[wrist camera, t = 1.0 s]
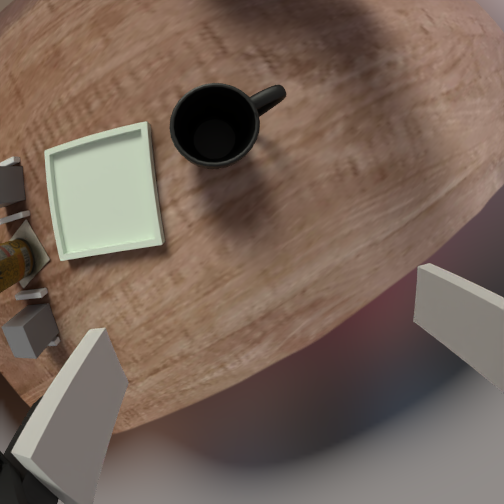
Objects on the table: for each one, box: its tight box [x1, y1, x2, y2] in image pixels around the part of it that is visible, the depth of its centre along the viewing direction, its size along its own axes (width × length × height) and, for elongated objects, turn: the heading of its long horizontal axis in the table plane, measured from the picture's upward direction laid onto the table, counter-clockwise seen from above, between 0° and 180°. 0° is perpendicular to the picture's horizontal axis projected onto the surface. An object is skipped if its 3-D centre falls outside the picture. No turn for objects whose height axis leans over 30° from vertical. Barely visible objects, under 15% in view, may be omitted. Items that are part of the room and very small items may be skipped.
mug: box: [170, 83, 286, 169], centre depth 28 cm, size 8×12×10 cm
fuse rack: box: [0, 157, 60, 359], centre depth 28 cm, size 29×6×8 cm, turn 7°
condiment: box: [0, 219, 50, 293], centre depth 26 cm, size 7×8×12 cm
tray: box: [45, 121, 165, 261], centre depth 31 cm, size 15×15×2 cm
